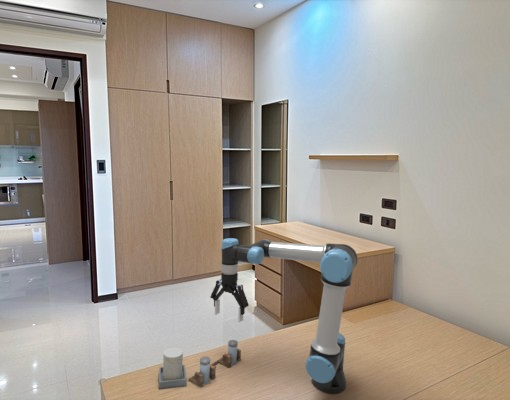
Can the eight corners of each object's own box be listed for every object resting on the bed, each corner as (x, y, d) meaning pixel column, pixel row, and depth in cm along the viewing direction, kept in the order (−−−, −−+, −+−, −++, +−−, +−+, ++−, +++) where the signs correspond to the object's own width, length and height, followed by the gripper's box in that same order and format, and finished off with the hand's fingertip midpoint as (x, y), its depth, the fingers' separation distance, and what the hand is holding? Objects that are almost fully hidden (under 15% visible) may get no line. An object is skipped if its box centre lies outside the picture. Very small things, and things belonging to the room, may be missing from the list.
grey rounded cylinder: (211, 380, 154) (212, 359, 153) (204, 385, 150) (205, 363, 149) (204, 376, 157) (204, 355, 156) (196, 381, 153) (197, 359, 152)
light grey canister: (162, 385, 148) (163, 358, 147) (162, 373, 156) (163, 348, 155) (182, 382, 150) (183, 356, 149) (181, 371, 158) (182, 346, 157)
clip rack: (240, 359, 172) (241, 349, 171) (200, 387, 149) (201, 375, 148) (228, 354, 176) (229, 344, 175) (188, 380, 153) (188, 369, 152)
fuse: (238, 361, 170) (239, 342, 169) (232, 365, 166) (233, 345, 165) (231, 358, 172) (232, 339, 171) (225, 362, 169) (226, 342, 168)
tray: (184, 370, 160) (184, 364, 160) (186, 386, 149) (186, 379, 149) (159, 373, 157) (159, 367, 157) (158, 389, 146) (159, 382, 146)
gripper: (256, 275, 156) (255, 321, 158) (213, 265, 170) (213, 308, 171) (247, 279, 150) (246, 327, 152) (203, 269, 163) (202, 313, 165)
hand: (228, 317), depth 162 cm, fingers open, 13 cm apart
